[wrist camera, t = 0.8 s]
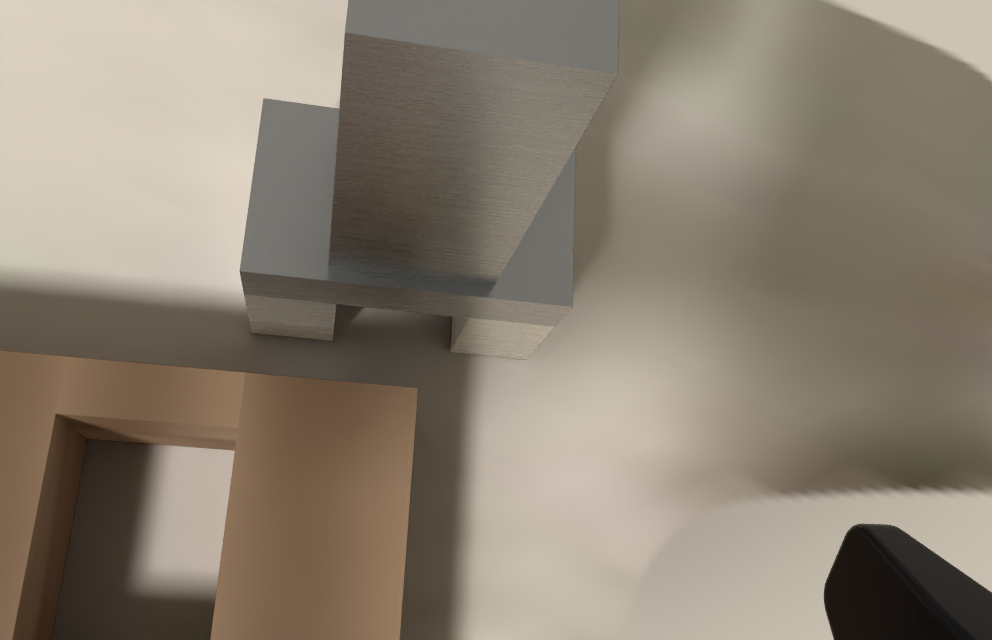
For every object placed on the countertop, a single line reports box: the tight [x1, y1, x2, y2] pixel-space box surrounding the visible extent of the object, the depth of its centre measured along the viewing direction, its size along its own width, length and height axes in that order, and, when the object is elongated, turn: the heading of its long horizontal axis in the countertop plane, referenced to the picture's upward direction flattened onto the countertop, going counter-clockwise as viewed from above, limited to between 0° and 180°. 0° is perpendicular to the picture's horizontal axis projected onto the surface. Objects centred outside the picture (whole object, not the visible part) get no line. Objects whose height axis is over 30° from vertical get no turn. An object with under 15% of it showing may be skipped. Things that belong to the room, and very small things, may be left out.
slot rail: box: [0, 350, 418, 640], centre depth 20 cm, size 16×8×3 cm, turn 88°
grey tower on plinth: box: [240, 0, 619, 359], centre depth 18 cm, size 7×4×13 cm, turn 88°
